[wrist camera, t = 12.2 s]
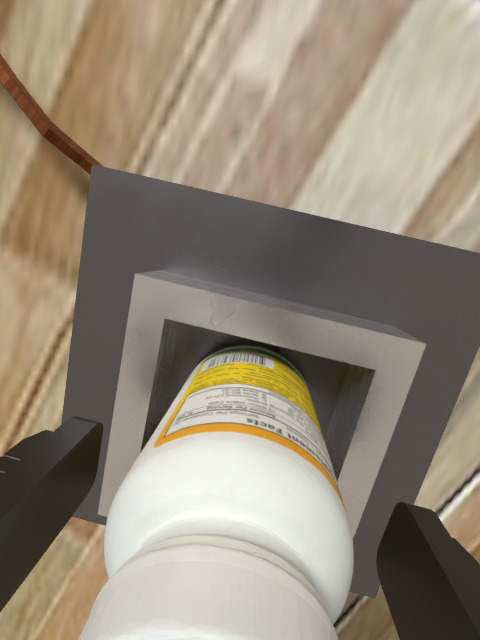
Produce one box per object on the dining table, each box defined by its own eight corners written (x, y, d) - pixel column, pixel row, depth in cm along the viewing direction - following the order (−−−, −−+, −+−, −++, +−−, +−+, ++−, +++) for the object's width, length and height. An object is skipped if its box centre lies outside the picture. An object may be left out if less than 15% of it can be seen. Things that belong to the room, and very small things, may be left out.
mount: (104, 171, 13) (45, 140, 9) (494, 260, 12) (583, 262, 9) (64, 495, 16) (10, 559, 13) (367, 576, 16) (396, 666, 12)
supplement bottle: (245, 315, 13) (183, 494, 3) (338, 405, 13) (525, 794, 4) (158, 402, 14) (-79, 728, 4) (247, 482, 14) (210, 936, 5)
